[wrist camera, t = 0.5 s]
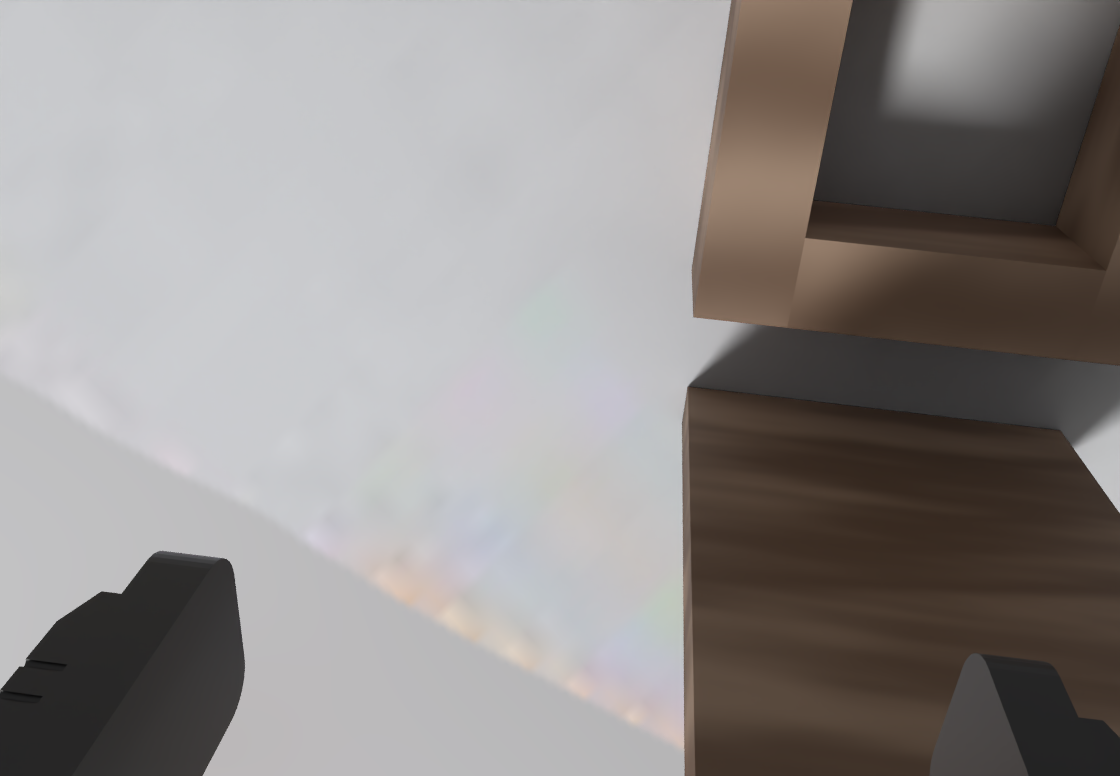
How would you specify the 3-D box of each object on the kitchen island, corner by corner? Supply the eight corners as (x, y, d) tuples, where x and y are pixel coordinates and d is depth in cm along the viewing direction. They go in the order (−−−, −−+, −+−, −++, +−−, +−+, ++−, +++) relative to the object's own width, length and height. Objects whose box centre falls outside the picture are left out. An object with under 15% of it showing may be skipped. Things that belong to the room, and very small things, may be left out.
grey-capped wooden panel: (670, 318, 37) (661, 884, 16) (1111, 369, 36) (1726, 1042, 15) (654, 435, 39) (626, 1064, 18) (1068, 485, 38) (1548, 1211, 17)
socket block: (762, -213, 29) (776, -230, 25) (1293, -170, 28) (1396, -181, 24) (691, 269, 36) (693, 317, 32) (1116, 316, 35) (1173, 371, 31)
